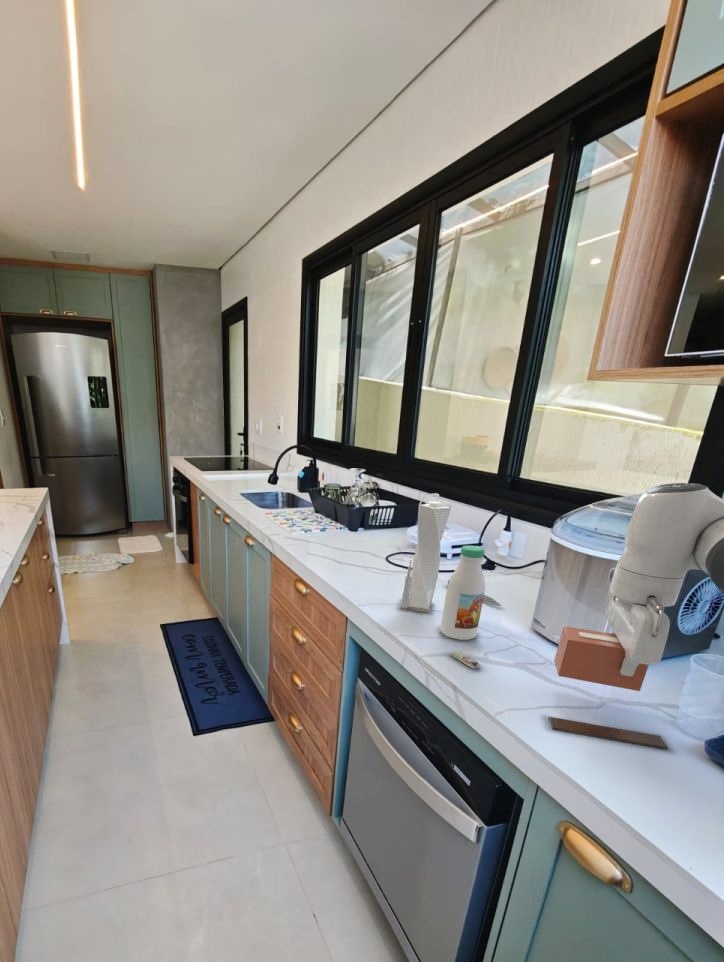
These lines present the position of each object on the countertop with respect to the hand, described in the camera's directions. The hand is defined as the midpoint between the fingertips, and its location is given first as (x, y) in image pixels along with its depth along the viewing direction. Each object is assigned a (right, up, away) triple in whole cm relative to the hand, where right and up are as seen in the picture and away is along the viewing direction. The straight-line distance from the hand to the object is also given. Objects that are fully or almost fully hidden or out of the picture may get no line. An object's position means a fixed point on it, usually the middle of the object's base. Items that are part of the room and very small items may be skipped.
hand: (620, 663), depth 85 cm
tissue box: (-3, -2, +2) cm, 4 cm away
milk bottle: (-17, +3, +29) cm, 33 cm away
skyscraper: (-22, +9, +43) cm, 49 cm away
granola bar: (-20, -2, +16) cm, 26 cm away
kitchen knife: (-5, +11, +51) cm, 52 cm away
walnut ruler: (-6, -10, -5) cm, 13 cm away
